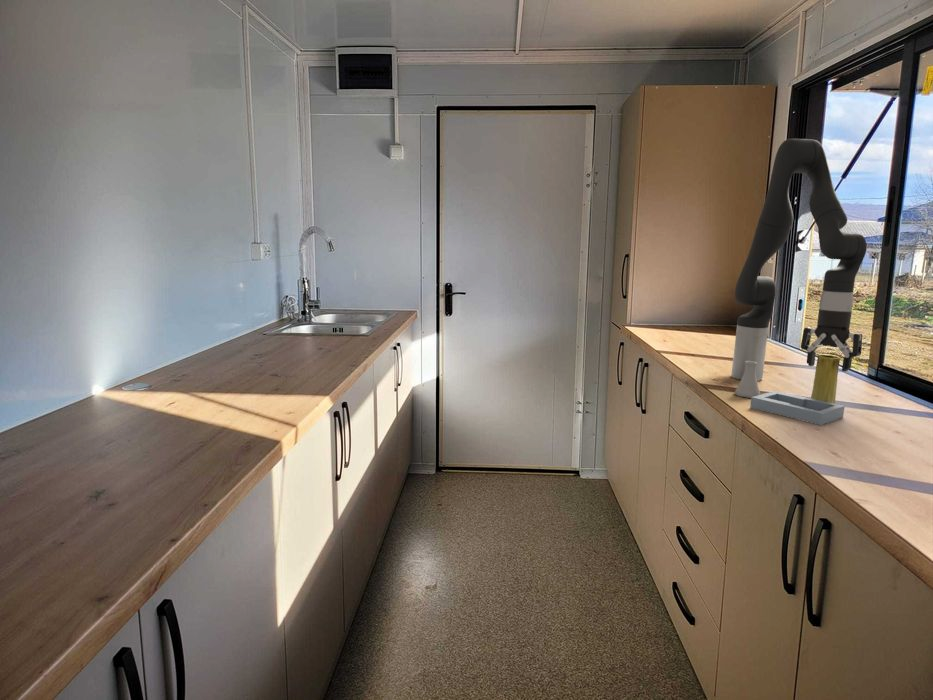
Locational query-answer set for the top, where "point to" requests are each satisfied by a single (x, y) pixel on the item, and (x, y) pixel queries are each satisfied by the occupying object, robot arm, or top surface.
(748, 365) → the flask
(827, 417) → the keyhole board
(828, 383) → the vase
